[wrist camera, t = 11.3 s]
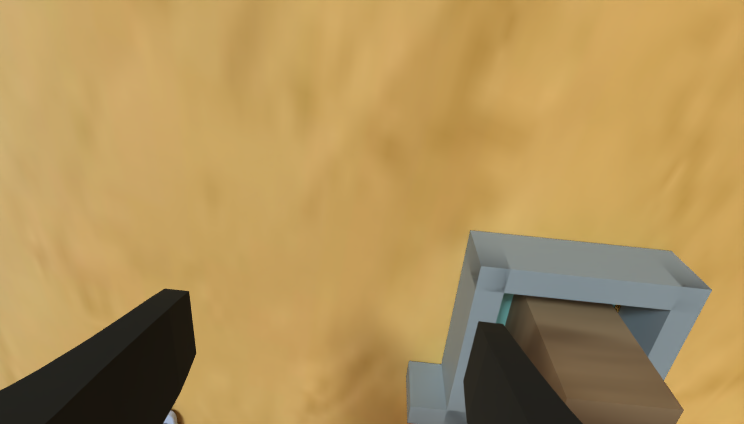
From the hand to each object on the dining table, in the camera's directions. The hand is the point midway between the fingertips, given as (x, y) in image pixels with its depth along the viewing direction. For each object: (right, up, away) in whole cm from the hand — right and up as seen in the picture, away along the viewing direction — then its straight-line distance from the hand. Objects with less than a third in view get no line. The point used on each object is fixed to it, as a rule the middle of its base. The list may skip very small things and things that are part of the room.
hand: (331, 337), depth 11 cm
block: (+10, -2, +11) cm, 15 cm away
